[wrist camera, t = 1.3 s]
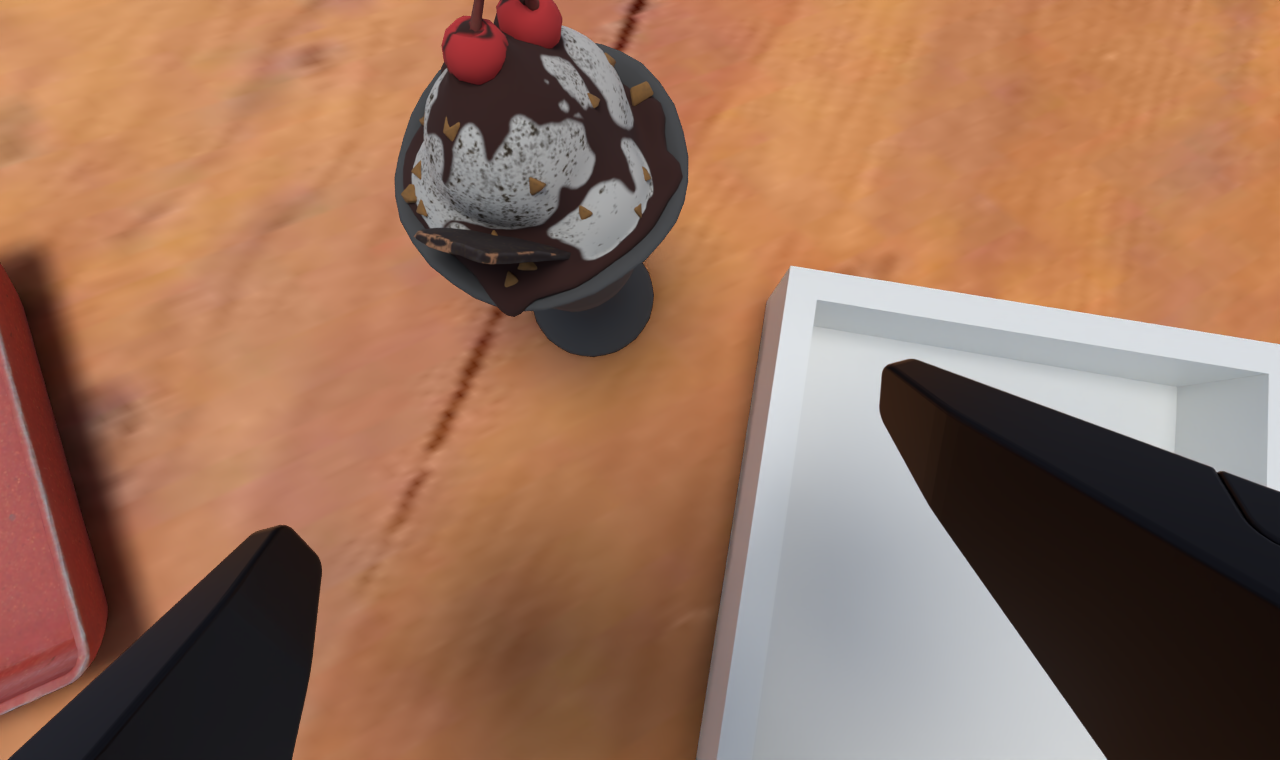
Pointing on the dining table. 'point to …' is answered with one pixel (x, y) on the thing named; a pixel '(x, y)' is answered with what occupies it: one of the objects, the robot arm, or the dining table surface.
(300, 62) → the dining table surface
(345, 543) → the dining table surface
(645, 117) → the sundae
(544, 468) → the dining table surface
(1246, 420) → the tray
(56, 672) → the plant saucer
